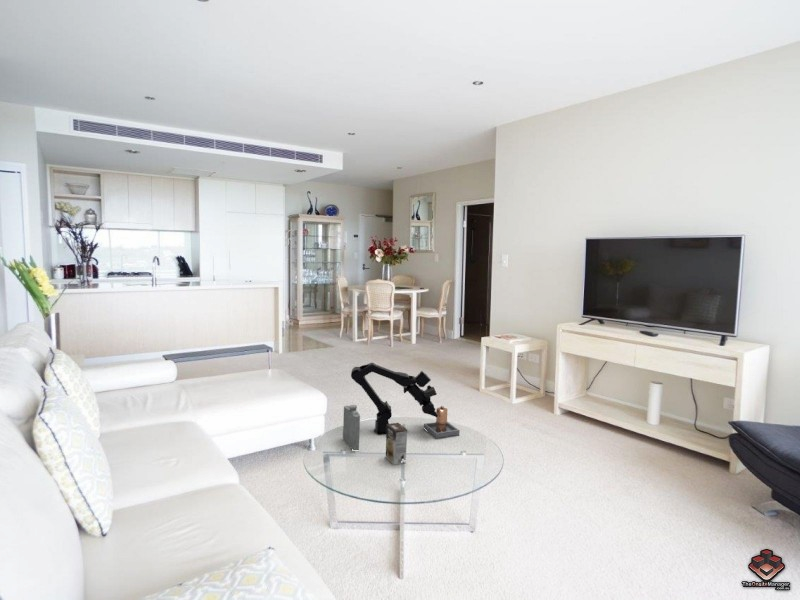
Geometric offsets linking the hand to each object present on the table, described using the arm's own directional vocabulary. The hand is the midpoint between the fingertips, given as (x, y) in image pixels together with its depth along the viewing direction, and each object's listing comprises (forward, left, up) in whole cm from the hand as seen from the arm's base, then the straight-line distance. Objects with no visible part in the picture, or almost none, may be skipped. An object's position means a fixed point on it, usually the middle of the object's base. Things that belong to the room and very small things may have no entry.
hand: (436, 413), depth 248 cm
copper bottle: (+3, -1, -10) cm, 10 cm away
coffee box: (-33, -22, -11) cm, 41 cm away
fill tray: (+3, -1, -11) cm, 11 cm away
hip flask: (-47, 0, -11) cm, 48 cm away
